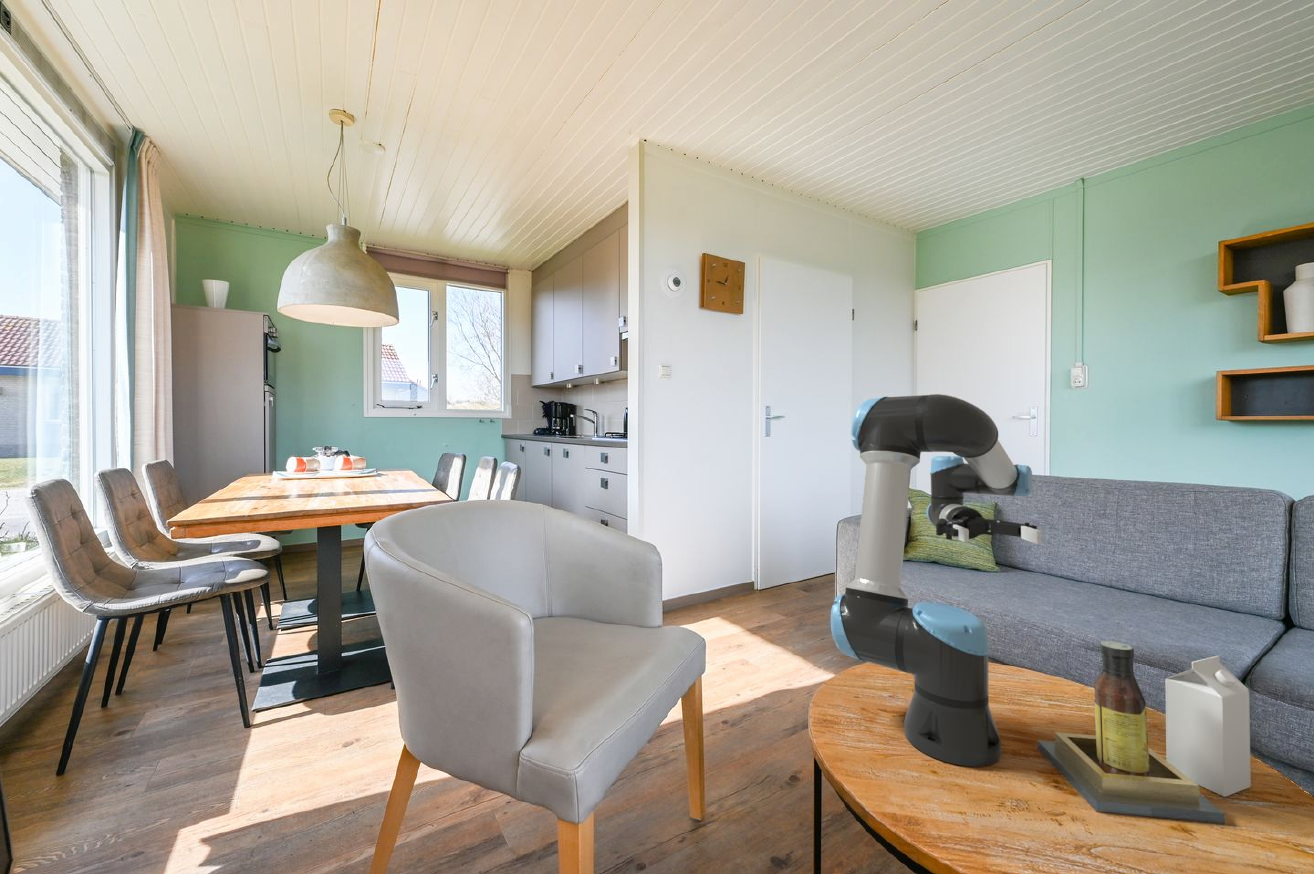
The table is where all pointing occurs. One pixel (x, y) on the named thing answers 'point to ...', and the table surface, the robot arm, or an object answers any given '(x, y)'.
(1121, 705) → the sauce bottle
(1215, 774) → the milk carton
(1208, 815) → the plate
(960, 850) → the table surface
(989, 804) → the table surface
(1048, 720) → the table surface
